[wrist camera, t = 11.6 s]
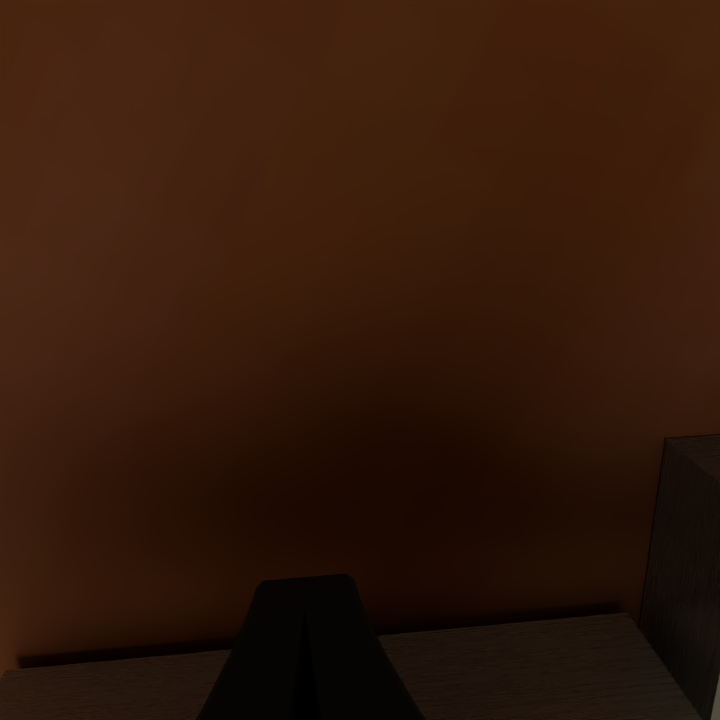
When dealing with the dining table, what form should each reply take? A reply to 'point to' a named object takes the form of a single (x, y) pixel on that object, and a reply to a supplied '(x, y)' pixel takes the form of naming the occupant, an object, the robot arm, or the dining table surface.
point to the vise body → (687, 571)
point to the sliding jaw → (415, 668)
